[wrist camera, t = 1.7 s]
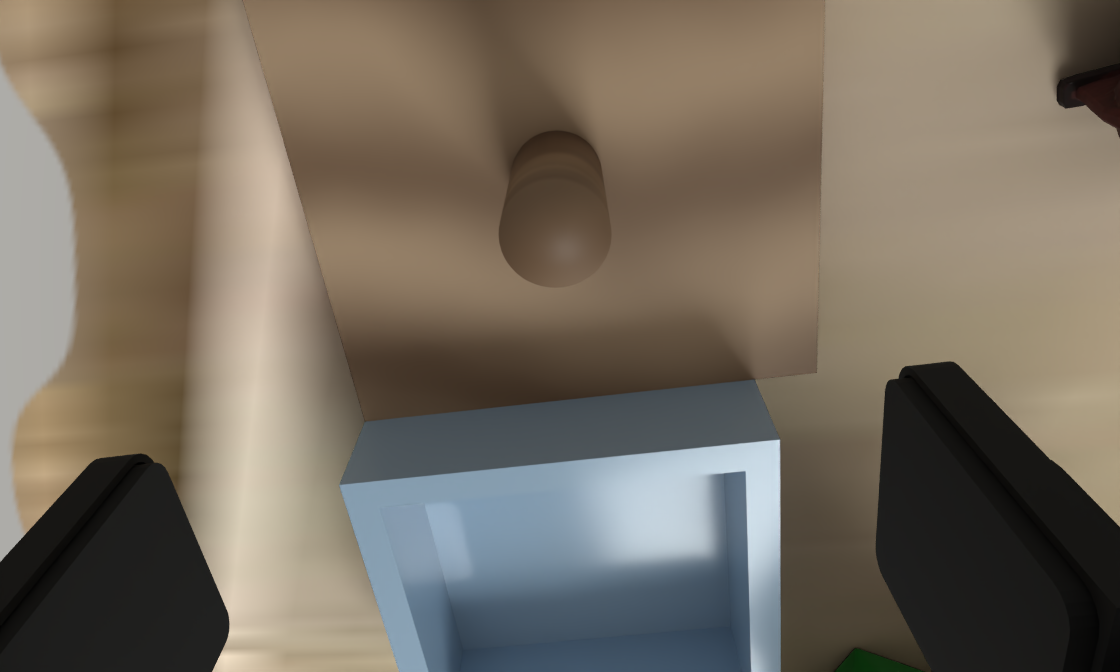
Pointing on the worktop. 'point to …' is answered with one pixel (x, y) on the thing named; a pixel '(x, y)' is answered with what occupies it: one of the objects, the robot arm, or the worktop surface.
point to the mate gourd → (1094, 93)
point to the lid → (555, 191)
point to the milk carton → (871, 663)
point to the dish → (576, 533)
